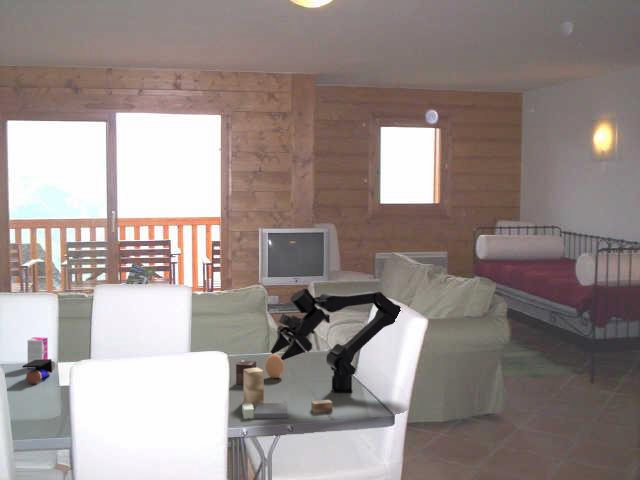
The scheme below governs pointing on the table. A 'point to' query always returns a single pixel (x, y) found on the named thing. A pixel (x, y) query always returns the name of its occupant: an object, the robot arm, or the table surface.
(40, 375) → the figurine character
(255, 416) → the slate tile
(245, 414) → the sage brick
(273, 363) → the egg
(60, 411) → the table surface
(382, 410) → the table surface
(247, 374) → the oak block
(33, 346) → the supplement box
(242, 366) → the box
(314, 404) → the walnut brick
